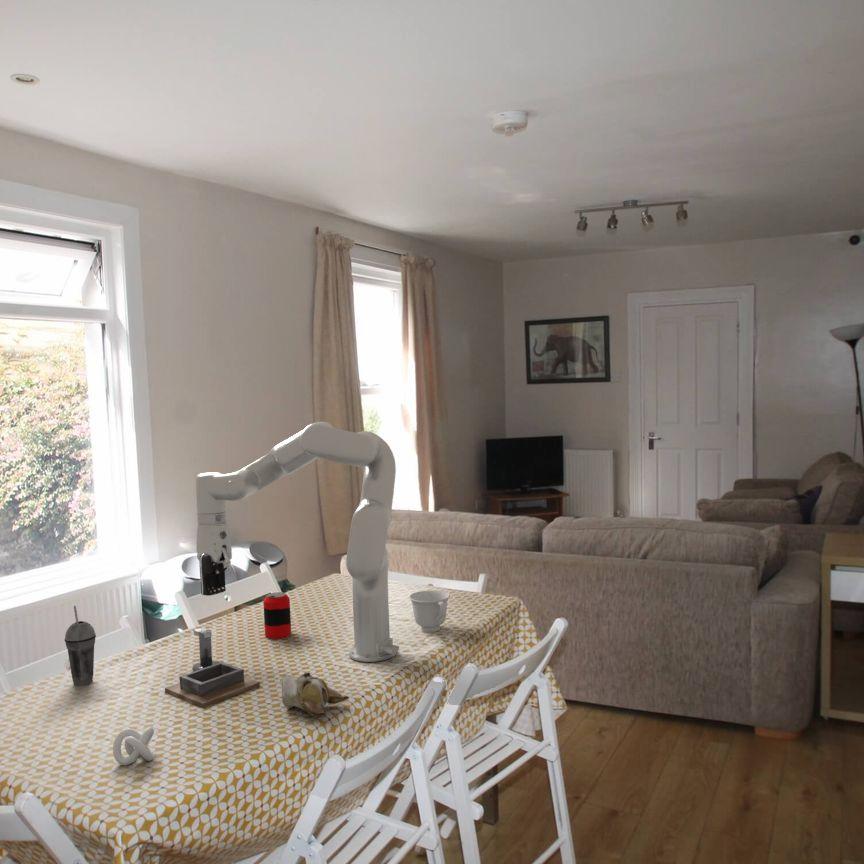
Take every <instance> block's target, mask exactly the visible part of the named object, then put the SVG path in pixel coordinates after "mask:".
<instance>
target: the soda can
mask: <svg viewBox="0 0 864 864" xmlns="http://www.w3.org/2000/svg"><path fill="white" fill-rule="evenodd" d="M262 603H263V618H264V619H263V624H264V636H265V637H266V638H267V639H270V640H280V639H286V638H287V636H288V637H289V636H290V635H291V634H292V622H291V620H292V619H291V617H292V616H291V602H290V597H289V596H288V594H287V593H286V592H281V591H280V592H278V591H277V592H270V593H268V594H266V595H265V597H264V599H263V602H262Z"/></svg>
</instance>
